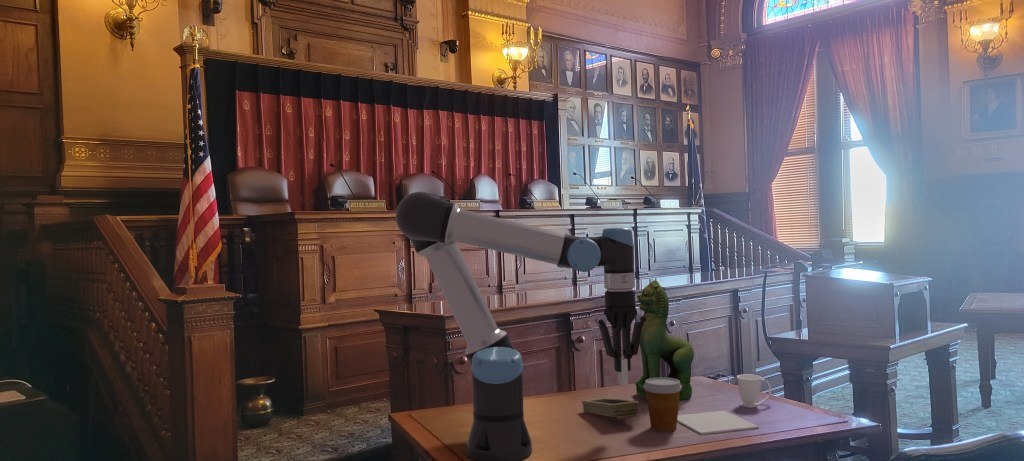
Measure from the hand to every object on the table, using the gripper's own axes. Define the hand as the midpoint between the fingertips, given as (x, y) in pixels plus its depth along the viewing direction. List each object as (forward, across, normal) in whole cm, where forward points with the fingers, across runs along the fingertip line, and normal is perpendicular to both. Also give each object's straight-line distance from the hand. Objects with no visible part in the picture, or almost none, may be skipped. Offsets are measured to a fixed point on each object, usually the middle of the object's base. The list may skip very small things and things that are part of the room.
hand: (623, 384), depth 179 cm
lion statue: (+13, +26, +29) cm, 41 cm away
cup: (+13, +45, +12) cm, 48 cm away
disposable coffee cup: (+12, +11, 0) cm, 16 cm away
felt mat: (+12, +25, 0) cm, 28 cm away
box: (+12, +2, +15) cm, 20 cm away
